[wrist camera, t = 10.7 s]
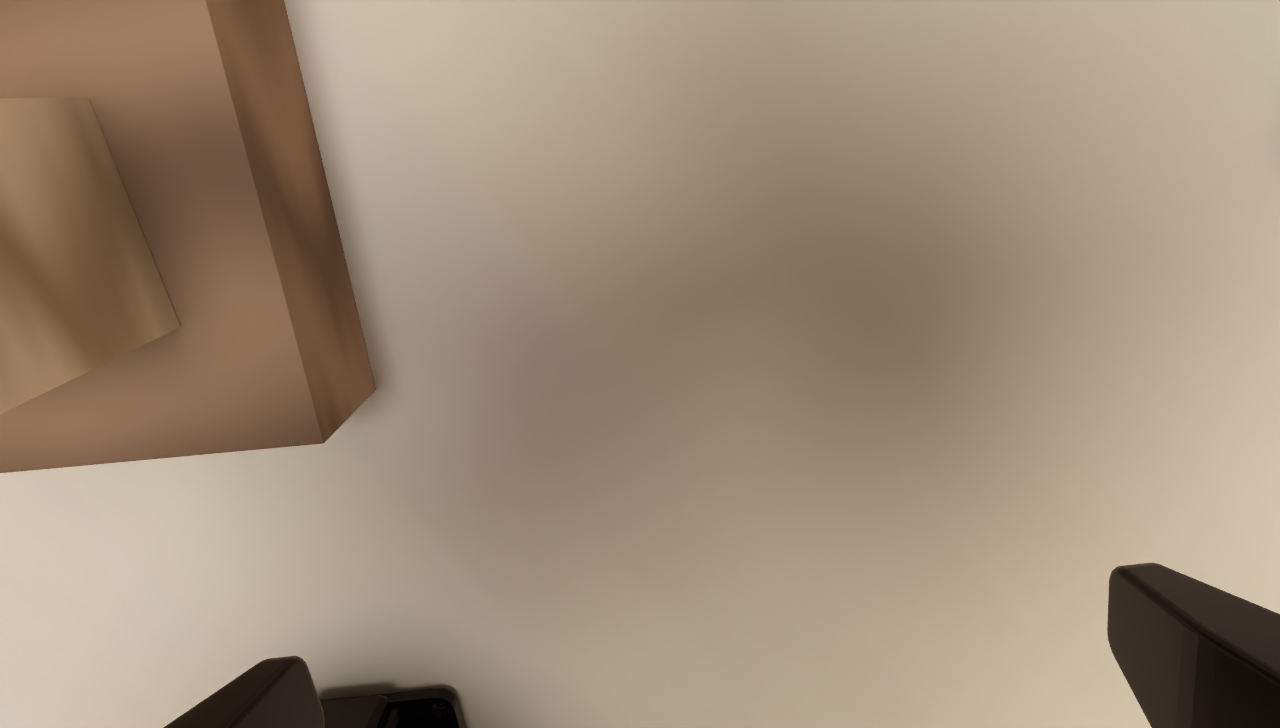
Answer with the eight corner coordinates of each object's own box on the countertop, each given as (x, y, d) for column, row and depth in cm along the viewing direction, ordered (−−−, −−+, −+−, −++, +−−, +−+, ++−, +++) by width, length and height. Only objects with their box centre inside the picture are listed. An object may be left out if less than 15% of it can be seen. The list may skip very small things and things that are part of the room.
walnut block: (381, 383, 23) (323, 443, 19) (16, 419, 23) (-110, 483, 20) (280, -47, 19) (184, -79, 15) (-146, 11, 20) (-338, -6, 16)
